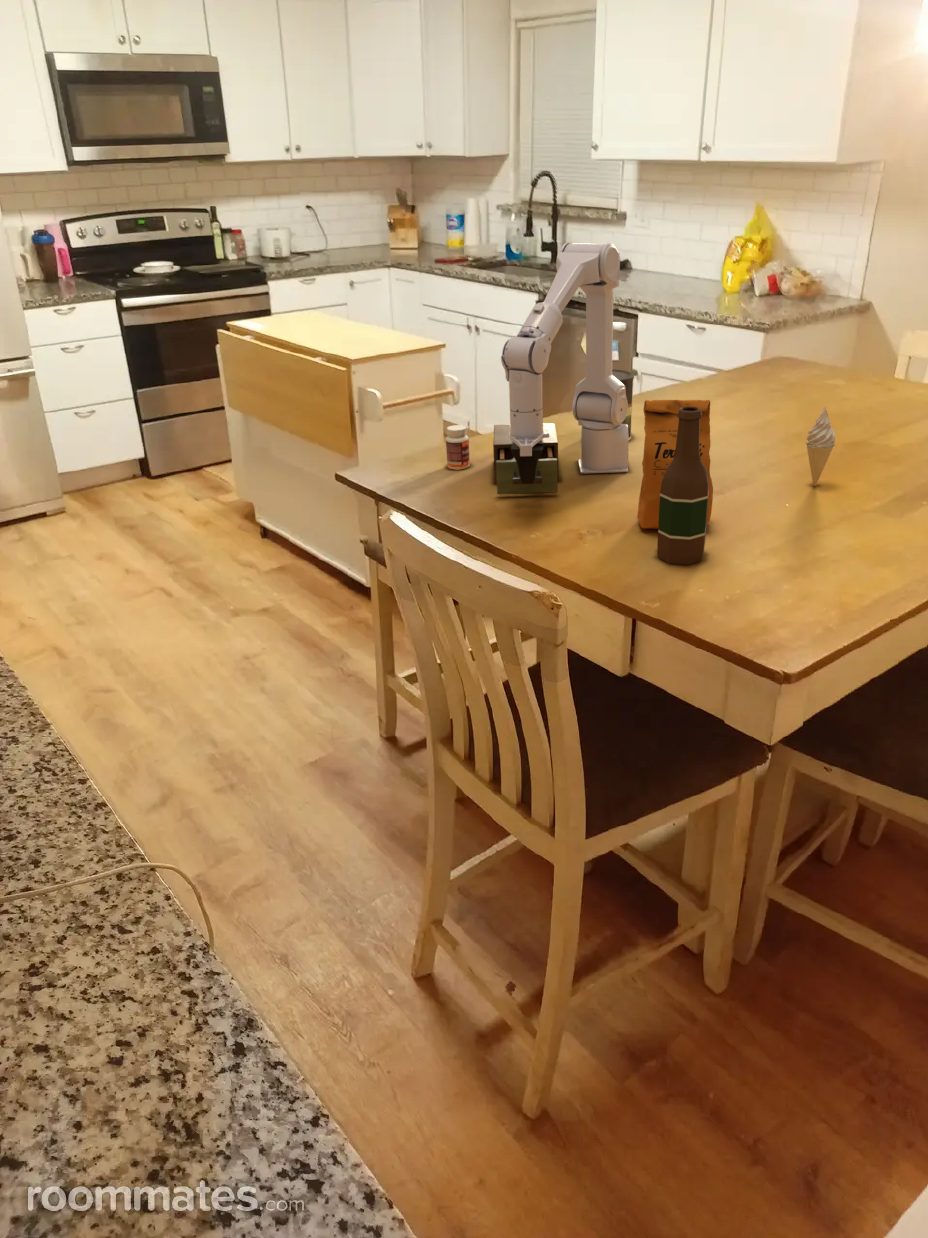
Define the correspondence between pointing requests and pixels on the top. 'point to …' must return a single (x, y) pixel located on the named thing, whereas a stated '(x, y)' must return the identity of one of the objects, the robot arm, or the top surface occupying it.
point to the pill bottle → (457, 447)
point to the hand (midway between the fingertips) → (527, 482)
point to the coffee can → (627, 380)
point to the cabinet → (504, 441)
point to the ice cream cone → (820, 445)
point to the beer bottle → (684, 496)
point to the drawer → (511, 478)
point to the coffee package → (667, 452)
